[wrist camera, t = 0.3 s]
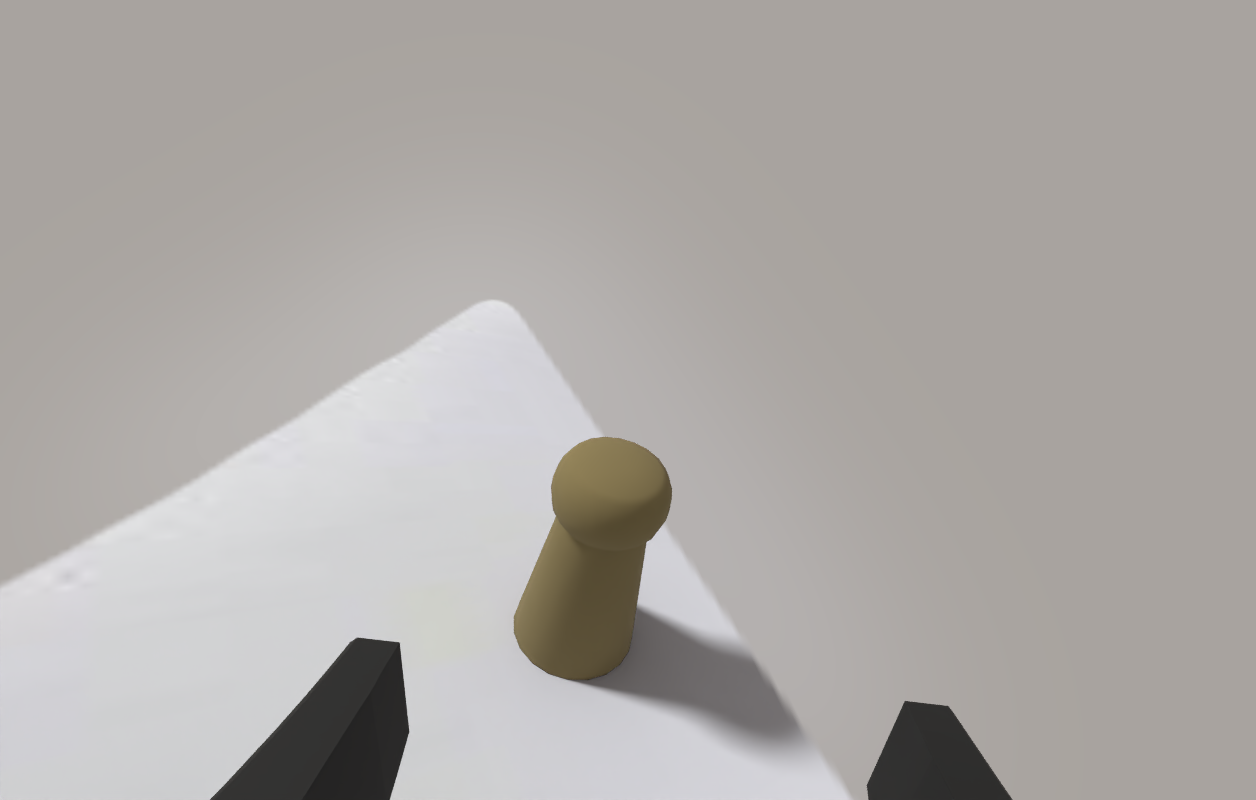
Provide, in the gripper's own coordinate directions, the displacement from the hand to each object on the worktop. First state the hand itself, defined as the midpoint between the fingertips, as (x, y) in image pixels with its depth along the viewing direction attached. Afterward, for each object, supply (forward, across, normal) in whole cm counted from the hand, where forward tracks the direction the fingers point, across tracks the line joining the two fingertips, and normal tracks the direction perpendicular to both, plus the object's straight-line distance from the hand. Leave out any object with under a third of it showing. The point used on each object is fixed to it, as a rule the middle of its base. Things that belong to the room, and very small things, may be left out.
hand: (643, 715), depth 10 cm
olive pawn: (+18, +2, +20) cm, 27 cm away
